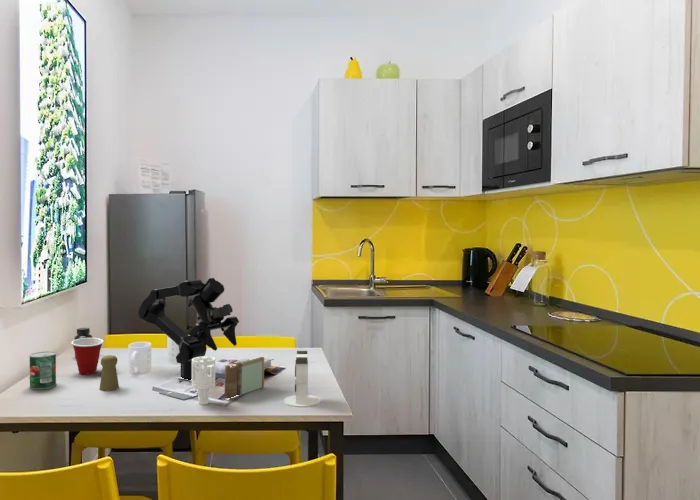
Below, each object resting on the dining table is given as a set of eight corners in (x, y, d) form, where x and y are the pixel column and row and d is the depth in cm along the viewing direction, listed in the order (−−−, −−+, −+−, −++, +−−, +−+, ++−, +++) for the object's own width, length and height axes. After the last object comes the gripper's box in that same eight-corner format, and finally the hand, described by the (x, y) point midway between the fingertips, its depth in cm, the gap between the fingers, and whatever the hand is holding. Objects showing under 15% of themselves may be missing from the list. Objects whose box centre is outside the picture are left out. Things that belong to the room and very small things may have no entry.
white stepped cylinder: (193, 407, 171) (193, 358, 170) (190, 401, 177) (190, 353, 177) (217, 405, 174) (217, 356, 173) (212, 398, 180) (213, 352, 180)
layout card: (159, 393, 185) (159, 392, 185) (181, 387, 192) (181, 385, 192) (183, 400, 178) (183, 398, 178) (205, 393, 186) (205, 392, 186)
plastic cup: (76, 378, 202) (76, 344, 201) (67, 372, 210) (67, 340, 209) (108, 373, 209) (107, 341, 208) (98, 367, 217) (98, 336, 216)
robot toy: (225, 375, 212) (260, 376, 207) (224, 363, 212) (260, 364, 207) (242, 367, 223) (276, 368, 218) (241, 356, 223) (275, 357, 218)
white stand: (284, 395, 185) (285, 349, 184) (319, 395, 186) (320, 349, 185) (283, 407, 173) (283, 358, 172) (320, 406, 174) (320, 358, 173)
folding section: (238, 393, 185) (239, 363, 184) (261, 385, 194) (261, 356, 193) (242, 394, 184) (242, 363, 184) (264, 386, 193) (265, 357, 193)
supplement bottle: (87, 354, 237) (87, 326, 237) (96, 357, 233) (96, 328, 233) (71, 357, 232) (70, 328, 231) (80, 360, 228) (79, 330, 227)
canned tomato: (24, 388, 189) (23, 355, 189) (44, 381, 197) (43, 350, 196) (42, 390, 187) (41, 357, 186) (61, 384, 194) (61, 352, 193)
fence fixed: (223, 399, 179) (223, 366, 179) (238, 394, 185) (238, 361, 184) (227, 400, 178) (227, 366, 178) (242, 395, 184) (242, 362, 183)
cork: (114, 384, 194) (114, 353, 194) (121, 388, 190) (121, 356, 190) (96, 388, 190) (96, 355, 190) (103, 392, 186) (103, 358, 185)
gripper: (197, 299, 187) (219, 338, 182) (237, 294, 203) (258, 330, 198) (179, 318, 192) (200, 357, 187) (219, 312, 207) (240, 347, 203)
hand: (226, 347), depth 193 cm, fingers open, 9 cm apart
